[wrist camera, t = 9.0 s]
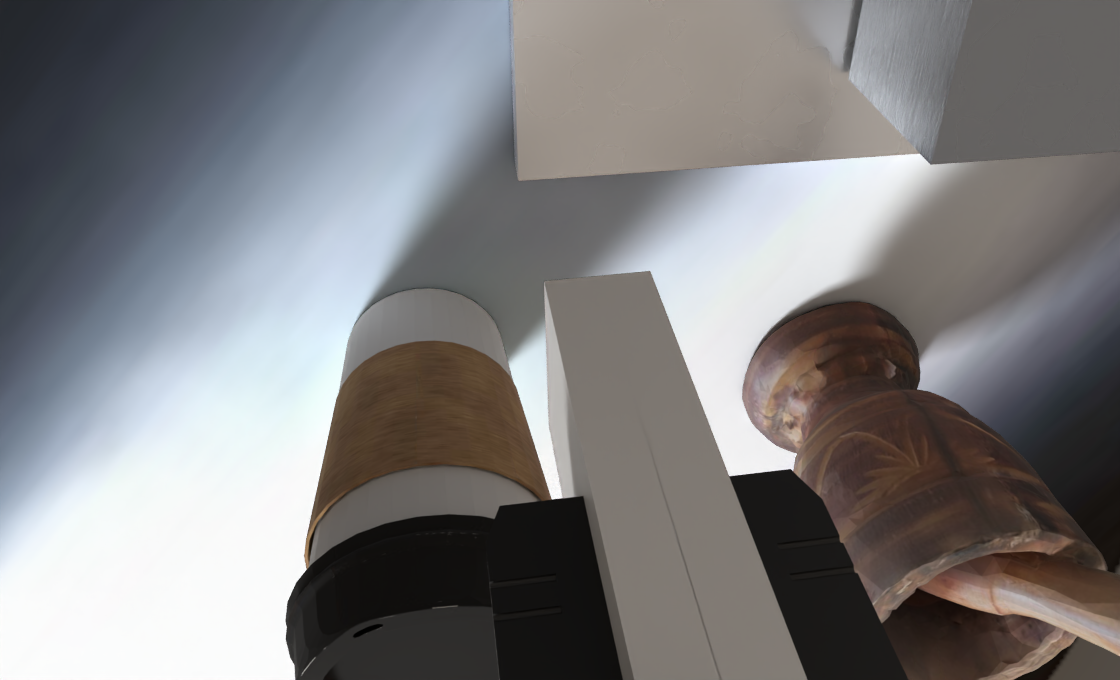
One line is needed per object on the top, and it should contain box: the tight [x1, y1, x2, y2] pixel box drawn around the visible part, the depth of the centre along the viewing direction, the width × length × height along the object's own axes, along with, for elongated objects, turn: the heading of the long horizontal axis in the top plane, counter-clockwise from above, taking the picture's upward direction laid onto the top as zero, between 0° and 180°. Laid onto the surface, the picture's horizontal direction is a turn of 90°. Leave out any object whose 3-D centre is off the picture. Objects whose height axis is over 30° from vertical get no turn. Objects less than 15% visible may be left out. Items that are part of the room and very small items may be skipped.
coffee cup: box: [286, 288, 552, 680], centre depth 31 cm, size 8×8×15 cm
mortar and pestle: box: [742, 302, 1120, 680], centre depth 32 cm, size 12×9×20 cm
